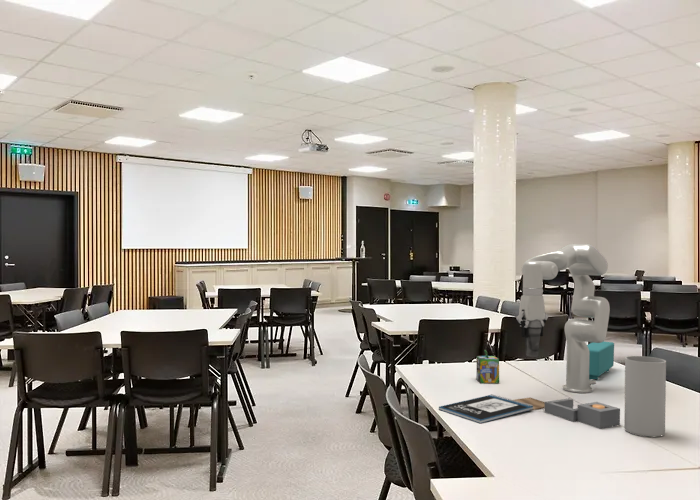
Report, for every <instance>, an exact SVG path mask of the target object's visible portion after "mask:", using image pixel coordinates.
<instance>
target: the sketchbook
mask: <svg viewBox="0 0 700 500" xmlns="http://www.w3.org/2000/svg"><path fill="white" fill-rule="evenodd" d="M512 400H513V401H512ZM518 402H519V401H515V399H511V398H506V397H503V396H500V395H496V394H492V393H491V394H488V395H484V396H480V397H475V398H470V399H467V400H463V401H458V402H454V403H450V404H444V405H440V406H438V410H439V411H442V412H445V413H448V414H451V415H454V416H456V417H460V418H463V419H465V420H469V421H472V422H475V423H478V424H483V423H487V422H490V421H494V420H498V419H502V418H506V417H510V416H513V415H516V414H517V415H518V414H520V413H526V412H529V410H531V411H533V410H532V409H533V405H529V404H527V405H526V403H522V402H520V403H518Z"/></svg>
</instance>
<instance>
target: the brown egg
mask: <svg viewBox="0 0 700 500" xmlns="http://www.w3.org/2000/svg"><path fill="white" fill-rule="evenodd" d="M593 407H594V408H597V409H603V408H605V406H603V405H599V404H594V405H593Z"/></svg>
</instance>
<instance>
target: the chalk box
mask: <svg viewBox="0 0 700 500" xmlns="http://www.w3.org/2000/svg"><path fill="white" fill-rule="evenodd" d="M484 354H485V355H476V375H475V376H476V380H477V382H479V383H478V384H500V358H498V357H496V356H494V355H489V353H488V351H487V349H484Z"/></svg>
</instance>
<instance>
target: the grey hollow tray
mask: <svg viewBox="0 0 700 500" xmlns="http://www.w3.org/2000/svg"><path fill="white" fill-rule="evenodd" d="M544 402H545V408H544V413H546V414H547V415H551V416H555V417H557V418H560V419H564V420H566V421H569V422H572V423H575V422H578V423H580V424H584V425H588V426H591V427H593V428H597V429H599V430H601V429H606V428H607V429H608V428H612V426H613V427H618V426H617V425H619V426H621V408H620V407H616V406H613V405H609V404H605V403H601V402H598V401H594V402H588V403H581V404H577V408H574V399H572V398H561V399H555V400H549V401H544ZM594 404H599V405H603V406H605V408H603V409H597V408H594V407H593V405H594Z"/></svg>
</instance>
